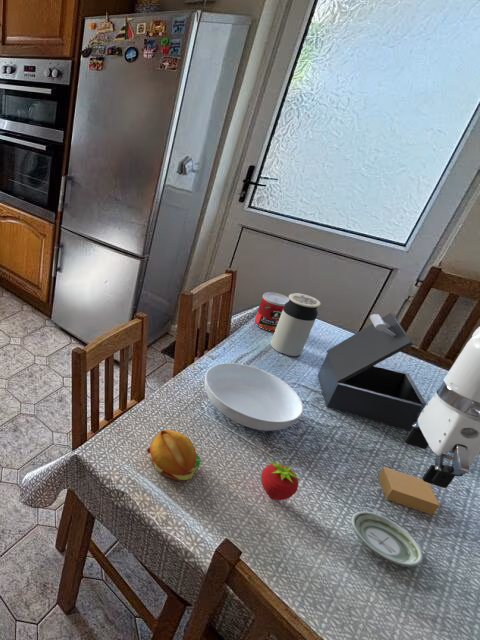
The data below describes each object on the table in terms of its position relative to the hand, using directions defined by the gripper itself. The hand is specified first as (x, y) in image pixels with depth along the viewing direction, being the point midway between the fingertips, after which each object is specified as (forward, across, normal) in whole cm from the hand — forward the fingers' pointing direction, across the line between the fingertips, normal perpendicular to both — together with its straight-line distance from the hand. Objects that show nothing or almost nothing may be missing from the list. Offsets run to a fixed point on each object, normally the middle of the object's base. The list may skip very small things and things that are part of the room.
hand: (423, 463), depth 81 cm
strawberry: (+10, -14, +24) cm, 29 cm away
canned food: (+10, +58, +20) cm, 62 cm away
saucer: (+10, -15, +7) cm, 19 cm away
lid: (-7, +29, +5) cm, 30 cm away
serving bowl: (+10, +11, +28) cm, 31 cm away
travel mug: (+10, +46, +16) cm, 50 cm away
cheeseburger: (+10, -16, +43) cm, 47 cm away
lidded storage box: (+9, +29, +1) cm, 31 cm away
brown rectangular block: (+10, 0, 0) cm, 10 cm away
